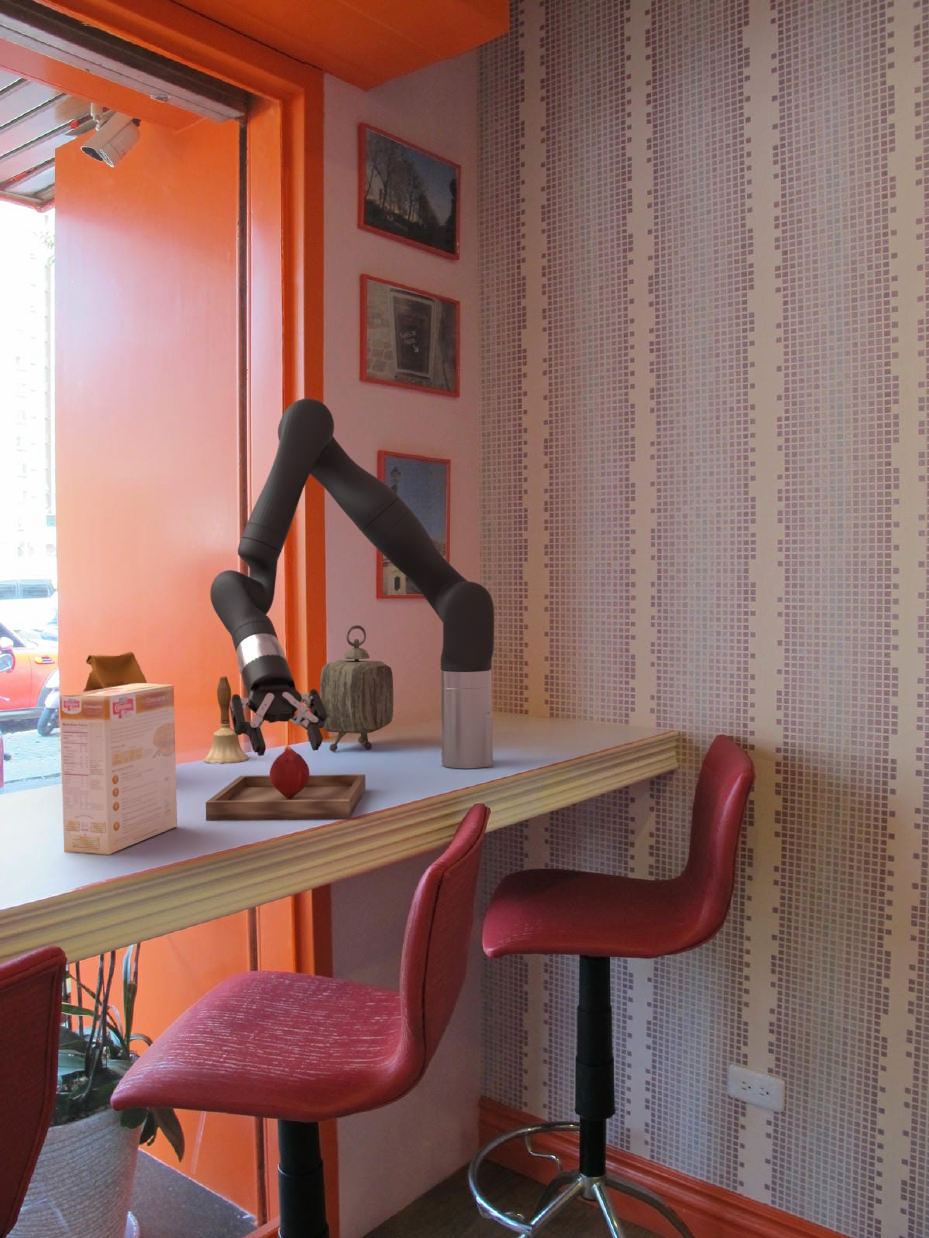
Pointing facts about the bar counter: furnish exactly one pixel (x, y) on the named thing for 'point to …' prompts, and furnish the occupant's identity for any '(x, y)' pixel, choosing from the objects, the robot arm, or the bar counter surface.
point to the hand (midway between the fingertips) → (290, 749)
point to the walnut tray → (267, 803)
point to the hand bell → (225, 732)
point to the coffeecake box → (117, 766)
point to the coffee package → (113, 671)
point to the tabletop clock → (356, 694)
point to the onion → (289, 773)
